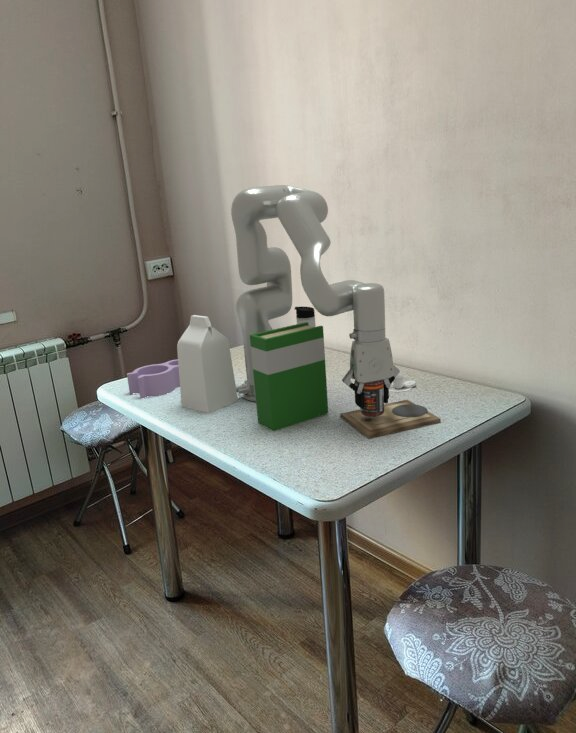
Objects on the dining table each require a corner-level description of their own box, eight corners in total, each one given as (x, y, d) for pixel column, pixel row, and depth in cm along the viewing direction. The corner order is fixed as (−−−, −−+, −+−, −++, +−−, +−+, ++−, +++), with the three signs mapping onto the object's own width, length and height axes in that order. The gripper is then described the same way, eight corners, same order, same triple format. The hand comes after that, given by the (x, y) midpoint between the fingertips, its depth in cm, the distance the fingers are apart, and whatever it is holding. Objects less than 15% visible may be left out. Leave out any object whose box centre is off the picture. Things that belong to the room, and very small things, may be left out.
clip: (178, 376, 208) (175, 357, 206) (199, 383, 199) (197, 363, 197) (125, 393, 195) (122, 372, 193) (146, 401, 187) (142, 379, 185)
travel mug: (299, 361, 214) (295, 305, 208) (318, 361, 213) (315, 304, 207) (297, 367, 208) (293, 309, 202) (317, 366, 207) (313, 308, 201)
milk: (181, 405, 180) (169, 318, 172) (211, 393, 188) (201, 310, 180) (208, 413, 172) (197, 322, 165) (238, 400, 180) (228, 313, 173)
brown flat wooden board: (368, 438, 147) (368, 433, 147) (340, 417, 162) (340, 412, 161) (442, 421, 153) (442, 416, 153) (408, 402, 168) (408, 398, 168)
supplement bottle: (357, 416, 154) (356, 373, 151) (364, 408, 159) (362, 366, 156) (381, 418, 152) (380, 375, 148) (386, 409, 157) (385, 367, 154)
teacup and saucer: (417, 385, 182) (417, 372, 181) (411, 394, 175) (410, 381, 174) (389, 383, 186) (388, 370, 185) (381, 392, 179) (380, 379, 178)
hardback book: (312, 406, 171) (306, 322, 164) (328, 413, 165) (323, 326, 158) (258, 423, 162) (249, 334, 155) (273, 431, 156) (265, 339, 149)
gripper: (344, 343, 143) (347, 415, 149) (408, 332, 149) (410, 402, 154) (331, 337, 150) (334, 406, 155) (393, 326, 155) (395, 393, 161)
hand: (372, 403), depth 155 cm, fingers closed on supplement bottle, 6 cm apart
